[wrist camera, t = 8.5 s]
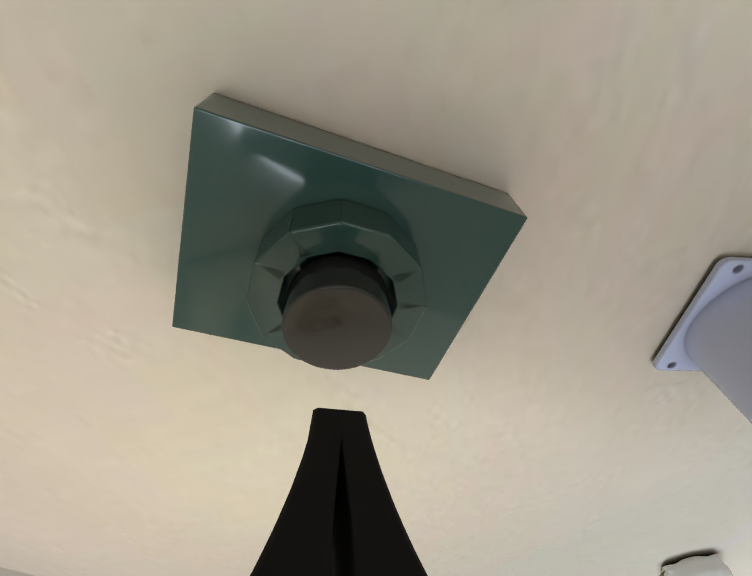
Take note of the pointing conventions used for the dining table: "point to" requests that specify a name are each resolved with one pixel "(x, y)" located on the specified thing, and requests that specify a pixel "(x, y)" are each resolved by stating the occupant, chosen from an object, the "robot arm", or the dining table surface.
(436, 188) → the green push button box
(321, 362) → the dark grey push button
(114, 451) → the dining table surface
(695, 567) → the chubby white toad
